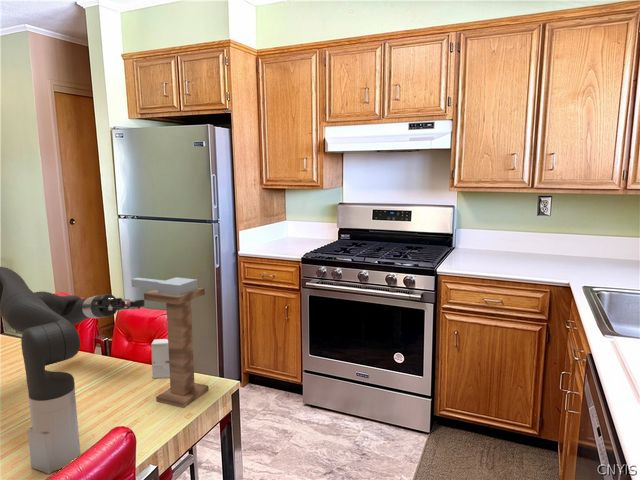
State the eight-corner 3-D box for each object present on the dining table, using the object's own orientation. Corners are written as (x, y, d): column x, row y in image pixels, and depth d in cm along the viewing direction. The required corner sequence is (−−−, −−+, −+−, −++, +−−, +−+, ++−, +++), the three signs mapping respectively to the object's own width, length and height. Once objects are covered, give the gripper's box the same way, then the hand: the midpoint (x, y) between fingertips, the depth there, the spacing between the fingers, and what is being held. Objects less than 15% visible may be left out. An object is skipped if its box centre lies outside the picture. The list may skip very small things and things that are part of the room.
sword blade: (179, 295, 128) (179, 285, 128) (124, 288, 137) (124, 279, 136) (197, 289, 136) (197, 279, 135) (144, 283, 144) (143, 273, 143)
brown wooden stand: (182, 408, 131) (177, 297, 126) (149, 399, 136) (143, 293, 131) (208, 390, 142) (204, 288, 137) (177, 383, 146) (172, 284, 142)
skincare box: (152, 378, 150) (150, 343, 148) (155, 373, 154) (153, 339, 153) (171, 377, 151) (169, 342, 149) (173, 371, 155) (172, 338, 153)
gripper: (117, 318, 157) (150, 314, 149) (79, 317, 144) (112, 313, 137) (119, 296, 158) (151, 292, 151) (81, 293, 146) (113, 288, 138)
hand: (132, 302), depth 144 cm, fingers open, 8 cm apart
